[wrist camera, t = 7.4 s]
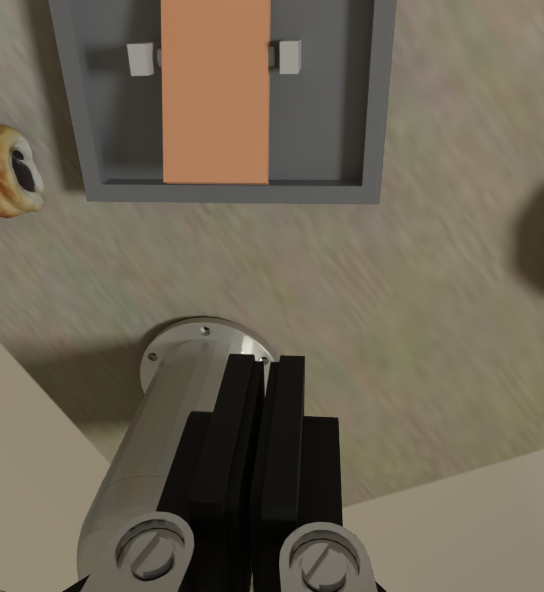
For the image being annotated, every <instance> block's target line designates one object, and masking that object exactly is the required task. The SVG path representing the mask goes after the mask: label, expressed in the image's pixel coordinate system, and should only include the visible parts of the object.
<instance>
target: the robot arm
mask: <svg viewBox="0 0 544 592" xmlns="http://www.w3.org/2000/svg"><path fill="white" fill-rule="evenodd" d="M207 327H208V328H207ZM139 376H140V382H141V387H142V389H143V392H144V396H143V399H142V401H141V403H140V405H139V407H138V409H137V411H136V413H135V415H134V417H133V419H132V421H131V424H130V426H129V428H128V430H127V432H126V434H125V436H124V438H123V440H122V442H121V444H120V446H119V449H118V451H117V453H116V455H115V457H114V459H113V461H112V463H111V465H110V467H109V469H108V471H107V474H106V476H105V478H104V480H103V482H102V484H101V486H100V488H99V490H98V492H97V494H96V496H95V499H94V501H93V503H92V505H91V507H90V509H89V511H88V513H87V516H86V518H85V520H84V523H83V525H82V528H81V532H80V536H79V541H78V549H77V571H78V580H79V582H77V583H76V584H74V585H72V586H71V587H69V588H68V589H66V590H65V591H63V592H250V585H251V577H252V572H253V589H254V592H386V591H385V590H384V589H383V588H382V587H381V586H380V585H379V584H378V583H377V582H376V581H375V579H374V575H373V571H372V567H371V563H370V559H369V556H368V554H367V552H366V549H365V547H364V545H363V544H362V543H361V541H360V540H359V539H358V538H357V537H356V535H355V534H353V533H352V532H350V531H349V530H347V529H346V528H344V527H343V522H342V497H341V471H340V446H339V422H338V418H334V417H313V416H304V384H305V356H284V355H281V356H280V362H278V360H277V358H276V356H275V354H274V353H273V351H272V350H271V349H270V347H269V346H268V345H267V344H266V343H265V342H264V341H263V340H262V339H261V338H260V337H259V336H258V335H256V334H255V333H253V332H252V331H250V330H248V329H247V328H245V327H243V326H241V325H238V324H236V323H233V322H231V321H226V320H222V319H218V318H206V317H201V318H191V319H186V320H183V321H179V322H176V323H174V324H172V325H170V326H168V327H166V328H164V329H163V330H162V331H161V332H159V333H158V334H157V335H156V336H155V337H154V338H153V340H152V341H151V342H150V343H149V345H148V347H147V349H146V350H145V352H144V354H143V357H142V360H141V364H140V375H139ZM0 592H5V591H2V590H0Z"/></svg>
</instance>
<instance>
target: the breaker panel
mask: <svg viewBox="0 0 544 592" xmlns="http://www.w3.org/2000/svg"><path fill="white" fill-rule="evenodd" d="M396 1H397V0H271V17H270V47H274V48H275V66H274V67H270V95H269V173H268V185H252V184H168V183H165V182H163V115H162V68H160V67H159V65H158V61H157V50H158V49H162V45H161V0H48V2H49V7H50V12H51V18H52V23H53V28H54V33H55V38H56V43H57V48H58V53H59V59H60V64H61V69H62V74H63V79H64V84H65V89H66V94H67V100H68V105H69V110H70V115H71V120H72V125H73V130H74V135H75V141H76V146H77V151H78V156H79V161H80V166H81V171H82V176H83V182H84V187H85V192H86V197H87V201H101V202H200V203H298V204H379V202H380V190H381V179H382V167H383V155H384V143H385V131H386V119H387V108H388V96H389V84H390V72H391V60H392V48H393V37H394V25H395V13H396Z"/></svg>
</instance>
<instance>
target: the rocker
mask: <svg viewBox="0 0 544 592" xmlns="http://www.w3.org/2000/svg"><path fill="white" fill-rule="evenodd" d="M270 17H271V0H161V45H162V49H158V50H157V61H158V65H159V67H160V68H162V115H163V182H165V183H168V184H252V185H268V173H269V95H270V67H274V66H275V48H274V47H270Z"/></svg>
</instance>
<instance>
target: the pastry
mask: <svg viewBox="0 0 544 592" xmlns="http://www.w3.org/2000/svg"><path fill="white" fill-rule="evenodd" d="M43 191H44V184H43V179H42V177H41V175H40V173H39V171H38V169H37V167H36V165H35V164H34V162H33V159H32V151H31V148H30V145H29V142H28V140H27V139H26V138H25V137H24V136H23V135H22V134H21V133H20V132H19V131H18V130H16V129H14V128H11V127H9V126H6V125H1V124H0V217H3V218H12V217H15V216H18V215H20V214H22V213H25V212H30V211H34V212H37V211H39V210H40V209H41V208H42V207H43V205H44V197H45V195H44V193H43Z"/></svg>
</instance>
